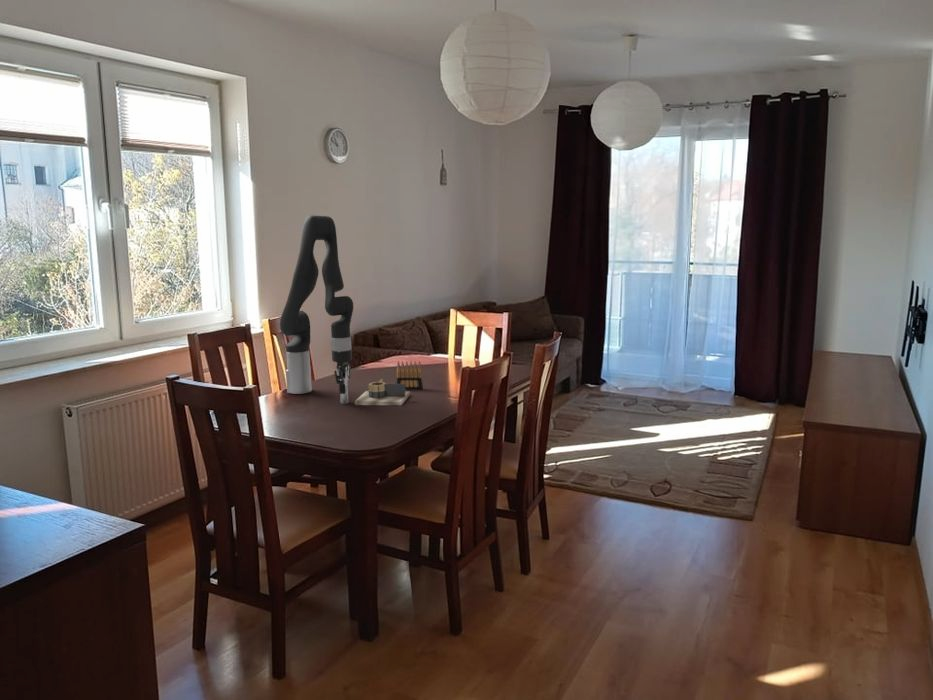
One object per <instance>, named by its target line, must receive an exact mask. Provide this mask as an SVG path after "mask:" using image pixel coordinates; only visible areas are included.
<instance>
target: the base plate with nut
mask: <svg viewBox="0 0 933 700" xmlns="http://www.w3.org/2000/svg"><path fill="white" fill-rule="evenodd" d="M405 386H406V383H405V384H397V383H387V382H384V379H383V378H381V379H379V381H373V382H370V383H368V390H365V391H364V392H363V393H362V394H361V395H360V396H359V397H357V399H355V401H354V406H402V405H403V404H404V403H405V401H406V400H407V399H408V398H409V397H410V393H411V392H410V390H409V391H408V390H405Z"/></svg>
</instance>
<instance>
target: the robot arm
mask: <svg viewBox="0 0 933 700" xmlns="http://www.w3.org/2000/svg"><path fill="white" fill-rule="evenodd" d="M301 231H302V232H301V238H300V246H299V251H298V256H297V260H296V265H295V267H294V272H293V276H292V280H291V285H290V288H289V293H288V296H287V300H286V302H285V305H284V308H283V310H282V313H281V316H280V320H279V328H280V331H281V333H282V334H283V335H285V336H288V337H289V336H293V338H292V340H290V341H289V342H288V343H287V344H286V345H285V353H286V368H287V369H286V370H285V378H286V379H285V381H286V392H287V394H293V395H294V394H295V395H300V394H301V395H302V394H303V395H304V394H307V393H311V392H312V391H313V389H312V388H313V387H312V375H311V371H312V370H311V359H310V357H311V356H310V344H311V320H310V317H309V315H308V313H306V312H305V311H303V310H301V308H302V307H303V305H304V303H305V302H306V300H307V299H308V298H309V297H310V296H311V294H312V293H313V291H314V290H315V288H316V285H317V282H318V278H319V271H320V269H319V267H318V266H319V265H318V264H317V261H316V258H315V255H314V250H315V244H316V241H324V242H323V243H324V245H325V256H324V259H323V262H322V266H321V276H322V279H323V284H324V289H325V291H324V292H325V293H324V294H325V298H324V299H325V300H324V309H325V311H326V313H327V314H328V316H331V317H335V316H340V318H339V319H338V320H336V321H334V322H332V323H331V325H330V334H331V343H330V344H331V360H332V362H334V363H336V367H335V368H336V369H335V370H334V372H333V373H334V377H335V381H336V384H337V385H338V387H339V388H338V389H339V390H338V391H339V394H345V393H346V390H345V378H346V372H347V384H348V385H349V380H350V378H351V368H352V367H351V365H352V364H351V363H349V362H351V361H352V360H353V350H352V339H351V327H350V326H351V322H352V317H353V313H354V301H353V300H352V298H351V297H350V296H348V295H342V296H341V295H340V296H335V294H336V293H337V292H340V291H342V290H344V281H343V277H342V273H341V269H340V268H341V267H340V261H339V253H338V238H337V237H338V236H337V229H336V224H335V221H334V220H333V218H332V217H331V216H328V215H327V216H326V215H313V214H311V215H308V216H307V217H306V218H305V220H304V222H303V226H302V230H301ZM342 375H344V376H342ZM340 379H341V381H340Z"/></svg>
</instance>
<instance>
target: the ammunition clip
mask: <svg viewBox="0 0 933 700" xmlns="http://www.w3.org/2000/svg"><path fill="white" fill-rule="evenodd" d="M422 374H423V371H422V363H421V361H420V360H418V364H417V362H416V361H414V362H412V360H410V362H409V363H408V361H407V360H406V361H405V363H404V361H403V360H402V361H401V364H400V361H398V360H397V363H396V384H405V391H408V390H409V391H410V390H411V391H415V390H416V391H422V390H424V386H423V385H424V384H423V375H422Z"/></svg>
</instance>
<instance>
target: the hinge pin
mask: <svg viewBox="0 0 933 700" xmlns="http://www.w3.org/2000/svg"><path fill="white" fill-rule="evenodd" d="M342 376H344V375H342ZM340 381H341V379H340ZM345 390H346V393H345V394H340V393H339V394H340V395H339V397H340V400H339V401H340V404H345V405H346V404H348V403H349V383H348V384H347V372H346V378H345Z"/></svg>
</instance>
